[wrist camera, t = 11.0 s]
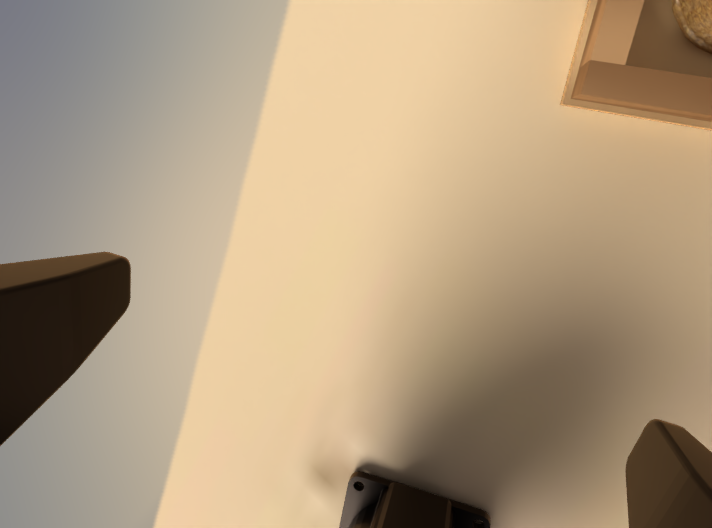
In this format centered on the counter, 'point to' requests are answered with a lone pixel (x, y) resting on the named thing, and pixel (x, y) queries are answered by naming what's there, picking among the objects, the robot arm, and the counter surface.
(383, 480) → the robot arm
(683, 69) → the holder
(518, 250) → the counter surface
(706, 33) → the sprinkles bottle
